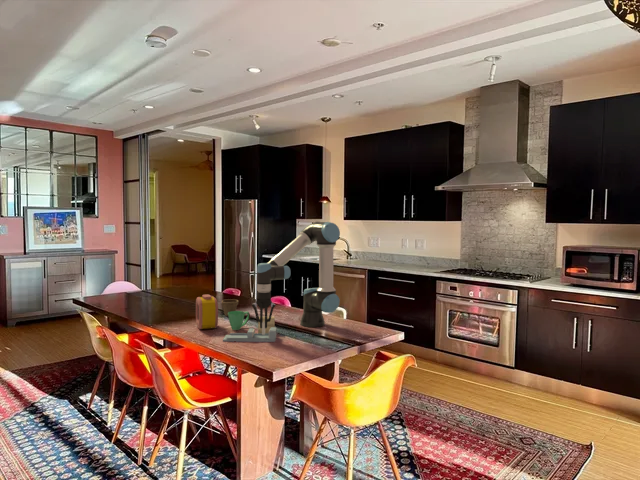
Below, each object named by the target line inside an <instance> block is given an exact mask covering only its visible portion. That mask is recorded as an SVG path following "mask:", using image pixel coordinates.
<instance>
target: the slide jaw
mask: <svg viewBox="0 0 640 480" xmlns="http://www.w3.org/2000/svg"><path fill="white" fill-rule="evenodd" d="M255 331H256V329H255V328H253V327H252V328H251V327H250V328H248V330H247V338H253V336H254V334H255V333H256V332H255Z"/></svg>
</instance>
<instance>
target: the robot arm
mask: <svg viewBox="0 0 640 480" xmlns="http://www.w3.org/2000/svg"><path fill="white" fill-rule="evenodd" d="M340 235H341V232H340V229H339V226H338V225H337V224H336V223H334V222H331V221H315V222H312V223H310V224H309V225H308V226H307V227H305V228H304V229H302V230H301V231H300V232H299V234H298V236H296V238H294V239H293V240H291V242H290V243H289V244H287V245H286V246H285V247H284V248H283V249H282V250H281V251H279V253H277V254H276V255H275V256H274V257H272V258H271V259H270V260H269V261H268V262H261V263H258V264H257V269H256V275H257V277H256V279H257V280H256V281H257V282H256V283H257V284H256V291H257V293H256V301H255V302H254V303H252V304H251V306H252V308H253V311H254V315H255V320H256V322H257V323H258V322H260V328H262V335H265V328H267V322H270V320H271V317H273V312H274V308H275V307H276V304H275V303H274V302H272V298H271V297H272V292H271V291H272V281H277V280H287V279H289V278H290V277H291V268H290V267H289V266H288V265H287V263H288V262H289V261H290V260H291V259H293V258H294V257H295V256H297V254H298V253H300V251H302V250H303V249H304V248H305V247H307V246H310V245H312V243H314V242H316V246H317V247H318V250H319V251H318V260H319V261H318V264H319V266H318V269H319V270H318V287H312V288H311V287H310V288H309V287H308V288H305V289H304V290H303V313H302V316H301V318H300V326H303V327H306V328H319V327H320V328H321V327H324V326H325V318H324V315H323V312H324V313H329V314H332V313H334V312H336V310H337V309H338V307H339V306H340V302H341V301H340V297H339V295H337V294H336V293H337V290H336V288H335V287H334V249H335V246H337V241H338V240H339V239H340ZM257 306H258V307H259V311H258V307H257ZM269 307H271V308H270V311H269V315H268V308H269ZM263 309H264V310H263ZM263 313H264V315H263ZM259 316H260V319H259ZM263 316H265V322H263ZM267 317H269V319H267Z"/></svg>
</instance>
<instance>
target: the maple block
mask: <svg viewBox="0 0 640 480" xmlns="http://www.w3.org/2000/svg"><path fill="white" fill-rule="evenodd" d="M259 319H260V315H259ZM267 319H269V316H267ZM263 322H265V315H263ZM257 323H258V324H257V333H262V328H260V322H258V321H257ZM275 324H276V323H275V316H271V320H270V322H267V328H265V333H269V330H270V329H271V327H275Z"/></svg>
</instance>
